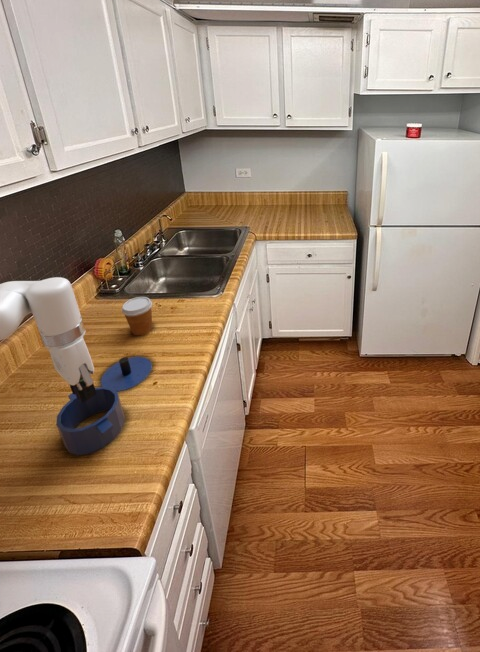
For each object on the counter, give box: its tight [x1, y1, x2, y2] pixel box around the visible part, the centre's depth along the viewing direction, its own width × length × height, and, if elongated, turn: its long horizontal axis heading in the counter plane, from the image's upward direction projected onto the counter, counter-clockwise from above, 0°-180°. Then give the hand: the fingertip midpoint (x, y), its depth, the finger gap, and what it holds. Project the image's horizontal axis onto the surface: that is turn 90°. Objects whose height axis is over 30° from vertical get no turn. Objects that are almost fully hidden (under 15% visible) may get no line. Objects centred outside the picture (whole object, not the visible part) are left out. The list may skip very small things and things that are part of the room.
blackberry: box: [73, 379, 84, 400], centre depth 79 cm, size 3×3×5 cm
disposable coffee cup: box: [121, 296, 153, 336], centre depth 117 cm, size 10×10×12 cm
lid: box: [100, 356, 153, 393], centre depth 100 cm, size 14×14×6 cm
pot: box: [55, 386, 126, 456], centre depth 82 cm, size 13×18×8 cm
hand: (84, 393), depth 79 cm, fingers closed on blackberry, 3 cm apart
